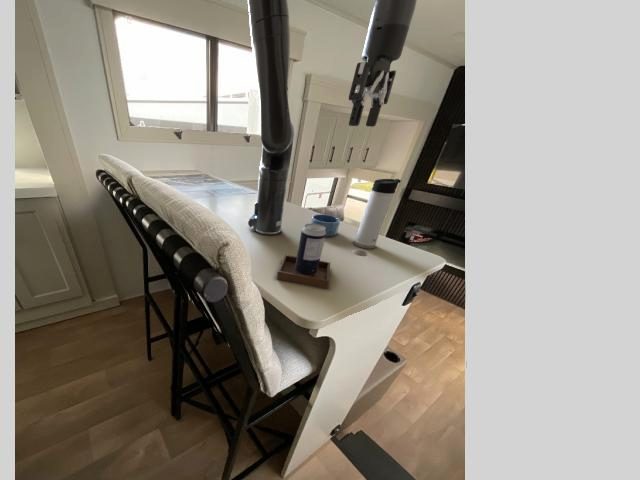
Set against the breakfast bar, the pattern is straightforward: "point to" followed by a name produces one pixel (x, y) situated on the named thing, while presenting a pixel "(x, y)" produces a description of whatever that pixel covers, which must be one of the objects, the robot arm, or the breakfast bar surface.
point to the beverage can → (310, 249)
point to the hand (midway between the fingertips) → (362, 126)
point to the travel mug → (375, 212)
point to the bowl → (327, 223)
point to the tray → (290, 274)
